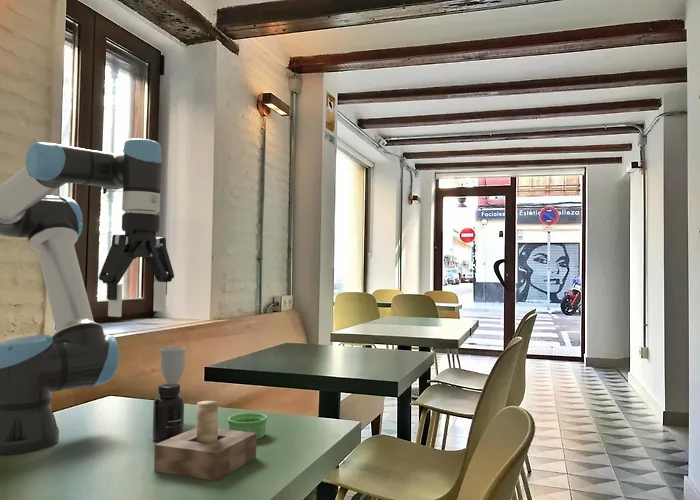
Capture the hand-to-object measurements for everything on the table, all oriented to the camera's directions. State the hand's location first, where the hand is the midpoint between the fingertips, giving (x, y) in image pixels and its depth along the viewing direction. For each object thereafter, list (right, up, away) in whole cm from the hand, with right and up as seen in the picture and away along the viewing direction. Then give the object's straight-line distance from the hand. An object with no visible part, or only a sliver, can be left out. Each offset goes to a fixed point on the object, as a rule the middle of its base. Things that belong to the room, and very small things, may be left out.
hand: (138, 313), depth 122 cm
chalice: (-1, -30, +27) cm, 41 cm away
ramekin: (+21, -30, +12) cm, 38 cm away
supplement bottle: (+3, -30, +10) cm, 32 cm away
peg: (+16, -29, -8) cm, 34 cm away
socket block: (+16, -29, -8) cm, 34 cm away
